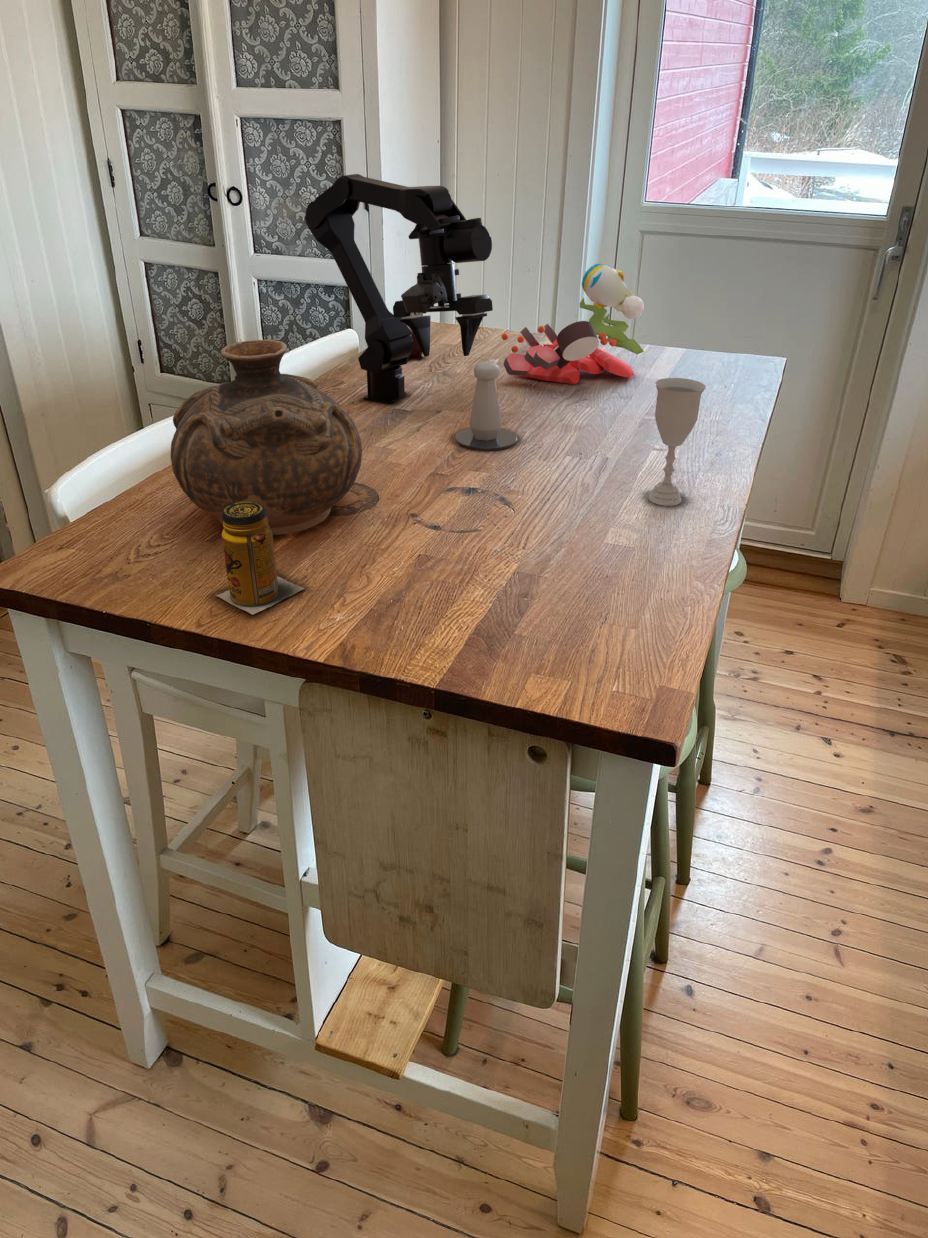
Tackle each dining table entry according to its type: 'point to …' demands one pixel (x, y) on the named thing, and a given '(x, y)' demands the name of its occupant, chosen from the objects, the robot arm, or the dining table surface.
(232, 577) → the condiment
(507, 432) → the coaster
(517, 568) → the dining table surface
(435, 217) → the robot arm
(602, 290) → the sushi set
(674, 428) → the chalice
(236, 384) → the vessel
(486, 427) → the salt shaker
